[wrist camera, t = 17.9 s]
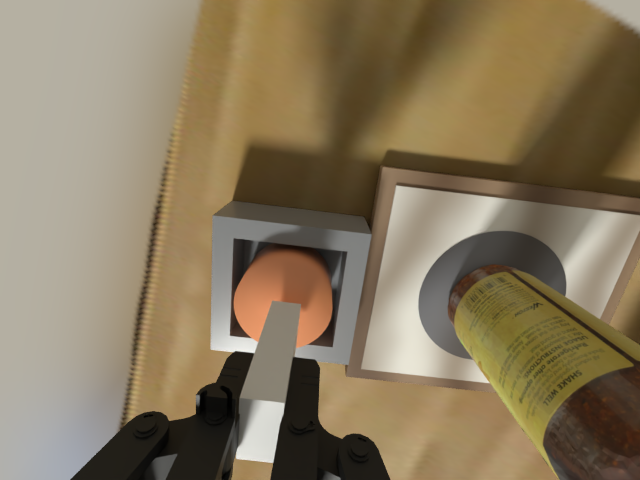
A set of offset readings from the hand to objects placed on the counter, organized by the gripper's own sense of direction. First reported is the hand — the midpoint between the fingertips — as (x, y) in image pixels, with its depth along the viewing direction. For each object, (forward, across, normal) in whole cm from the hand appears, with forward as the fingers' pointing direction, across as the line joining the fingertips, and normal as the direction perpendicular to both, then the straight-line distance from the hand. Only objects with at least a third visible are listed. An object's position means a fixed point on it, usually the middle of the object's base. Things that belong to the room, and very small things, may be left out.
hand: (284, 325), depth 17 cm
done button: (+5, 0, 0) cm, 5 cm away
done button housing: (+7, 0, 0) cm, 7 cm away
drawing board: (+7, -14, 0) cm, 15 cm away
